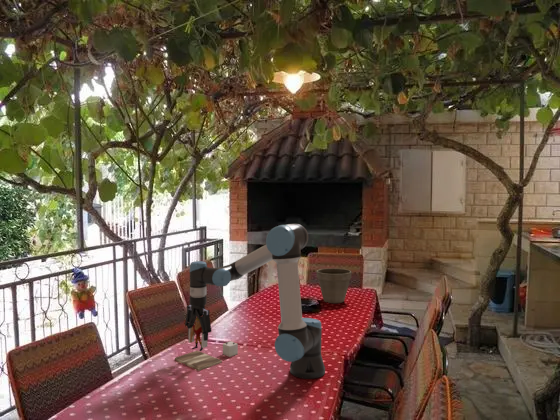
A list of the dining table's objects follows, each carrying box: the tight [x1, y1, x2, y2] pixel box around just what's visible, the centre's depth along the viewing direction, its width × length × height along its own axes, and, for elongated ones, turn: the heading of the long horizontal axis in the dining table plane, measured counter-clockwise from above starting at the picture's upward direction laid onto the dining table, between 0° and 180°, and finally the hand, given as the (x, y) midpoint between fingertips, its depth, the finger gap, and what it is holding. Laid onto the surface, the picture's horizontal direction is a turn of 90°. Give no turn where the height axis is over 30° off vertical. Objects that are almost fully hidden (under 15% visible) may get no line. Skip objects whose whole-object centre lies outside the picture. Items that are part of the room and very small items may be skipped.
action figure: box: [190, 317, 204, 352], centre depth 203 cm, size 10×4×15 cm, turn 61°
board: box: [174, 350, 223, 372], centre depth 203 cm, size 18×13×1 cm
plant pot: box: [316, 267, 352, 304], centre depth 316 cm, size 25×25×22 cm
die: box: [222, 341, 239, 358], centre depth 212 cm, size 5×5×6 cm
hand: (197, 344), depth 203 cm, fingers closed on action figure, 9 cm apart
